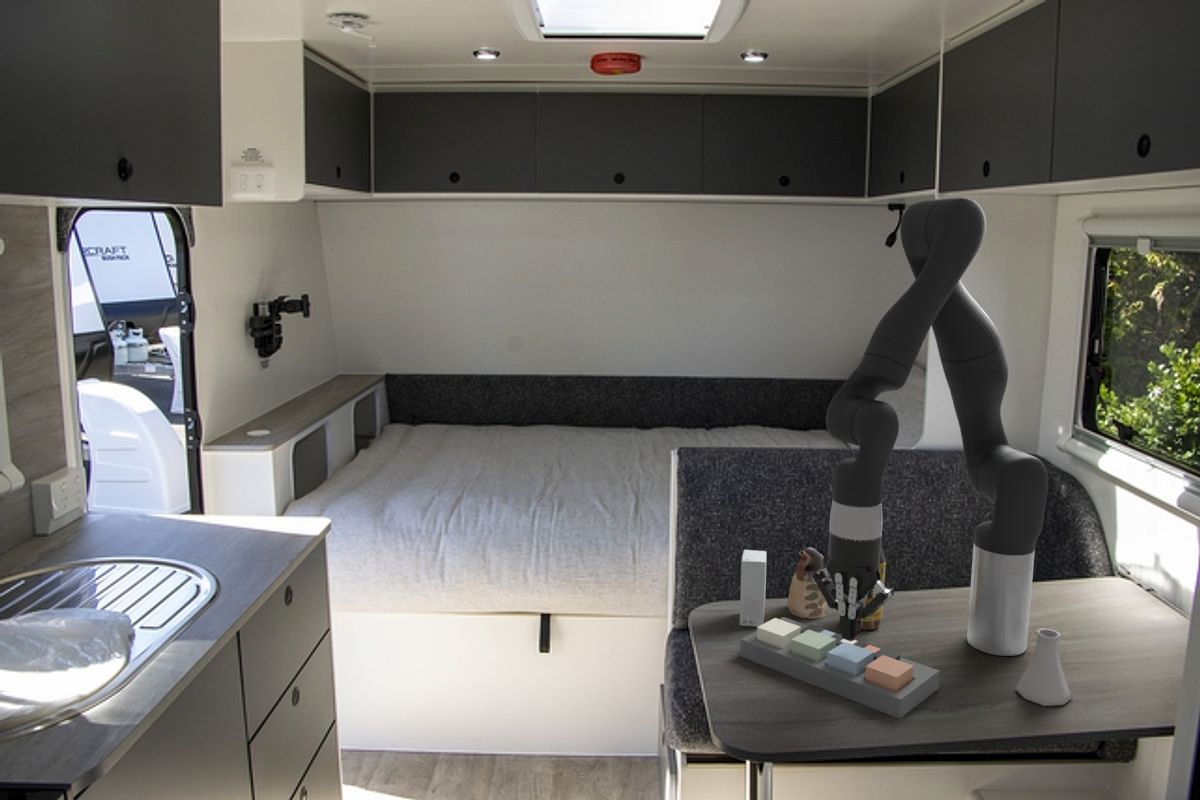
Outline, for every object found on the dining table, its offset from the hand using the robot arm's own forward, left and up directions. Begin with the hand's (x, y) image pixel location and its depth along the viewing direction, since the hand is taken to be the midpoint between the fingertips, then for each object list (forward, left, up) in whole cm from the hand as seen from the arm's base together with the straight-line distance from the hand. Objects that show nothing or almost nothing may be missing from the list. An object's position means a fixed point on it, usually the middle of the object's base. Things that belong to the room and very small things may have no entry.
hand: (849, 638), depth 146 cm
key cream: (0, -13, -5) cm, 14 cm away
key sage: (0, -6, -5) cm, 8 cm away
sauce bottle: (-21, -9, -7) cm, 24 cm away
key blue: (0, 0, -5) cm, 5 cm away
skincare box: (-9, -24, -7) cm, 27 cm away
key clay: (0, +7, -5) cm, 8 cm away
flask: (-17, +23, -8) cm, 29 cm away
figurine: (-19, -19, -7) cm, 28 cm away
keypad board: (-2, -3, -7) cm, 8 cm away
